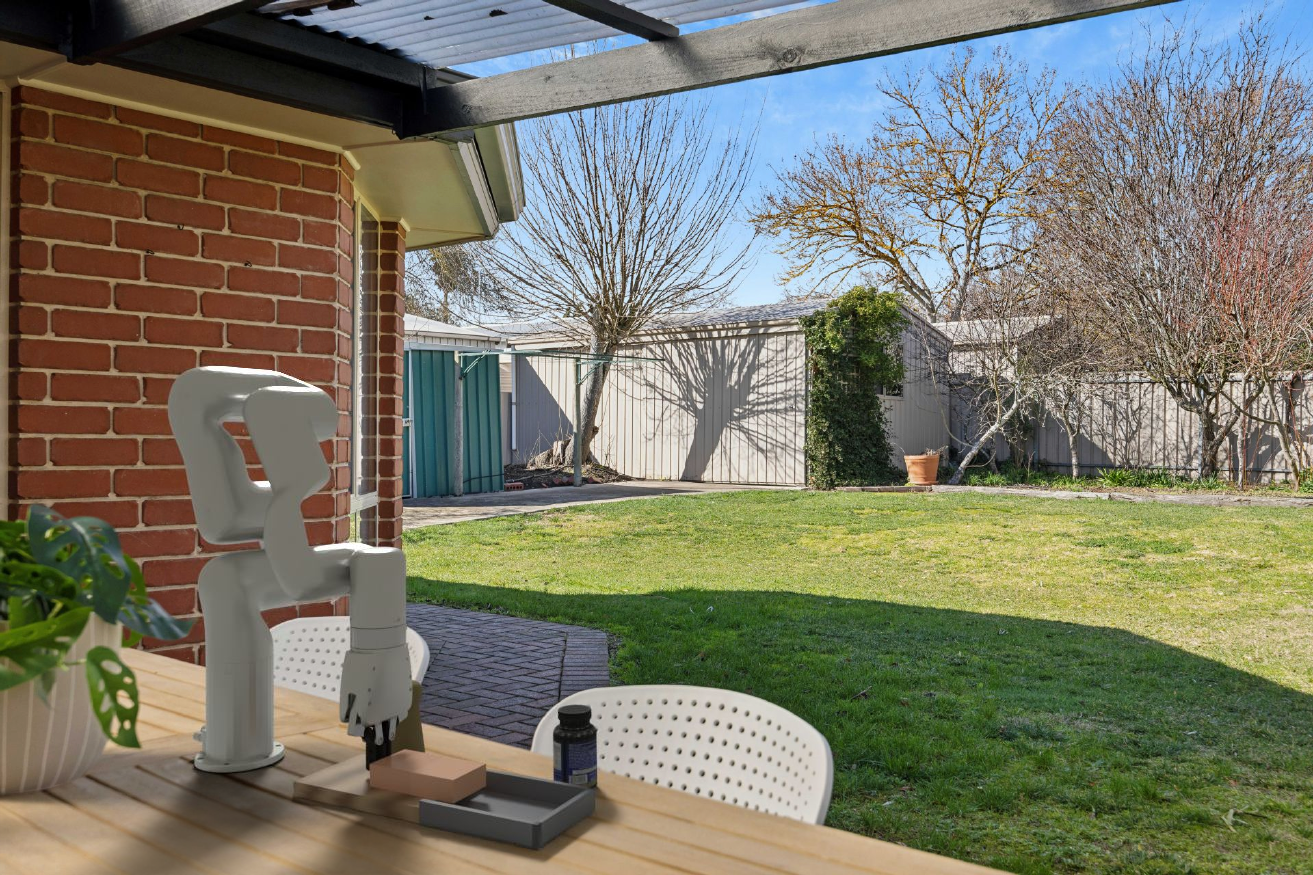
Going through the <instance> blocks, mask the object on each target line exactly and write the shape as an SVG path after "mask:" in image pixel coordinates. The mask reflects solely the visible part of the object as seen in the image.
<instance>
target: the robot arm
mask: <svg viewBox="0 0 1313 875" xmlns="http://www.w3.org/2000/svg"><path fill="white" fill-rule="evenodd" d="M167 400H168V401H167V415H168V416H167V417H168V421H169V426H170V428H171V432H172V435H173V438H174V439H175V440H174V441H175V442H176V444H177V446H178V449H179V452H180V454H181V457H182V459H183V464H184V468H185V473H186V480H187V484H188V488H189V489H188V490H189V493H190V498H191V504H192V508H193V512H194V517H195V518H194V519H195V523H196V525H197V529H198V532H199V533H200V534H199V535H200V536H201V538H202V539H203V540H205V541H206V542H207V543H209V544H212V545H225V546H226V545H235V544H246V543H255V542H256V543H257V542H258V543H259V547H260V548H254V549H245V550H237V551H230V552H227V553H223V554H220V555H217V556H215V557H213V558H211V559H210V560H208V561H207V562H206V563H205V564H204V566H203V567H202V569H200V570H201V571H200V572H199V575H198V580H197V591H198V598H199V601H200V606H201V610H202V616H203V623H204V636H205V637H204V638H205V642H204V643H205V644H204V645H205V724H204V725H202V727H201V728H200V731H196V732H194V733H193V735H192V739H193V741H195V742H201V745H202V746H201V751H199V752H198V753H196V755H195V756H194V766H195V767H196V768H197V769H199V770H201V771H204V772H208V773H209V772H210V773H235V772H236V773H237V772H238V773H239V772H244V771H250V770H255V769H259V768H263V767H266V766H269V765H272V764H275V763H277V762H278V761H280V760H281V759H282V758H283V757H284V756H285V753H286V752H285V745H284V744H283V743H281V742H279V741H275V739H274V738H275V733H274V732H275V731H274V730H275V724H274V722H275V721H274V720H275V715H274V714H275V711H274V710H275V709H274V708H275V704H274V703H275V702H274V701H275V695H274V693H275V692H274V691H275V690H274V689H275V688H274V686H275V684H274V682H275V681H274V680H275V674H274V672H275V670H274V668H275V666H274V665H275V664H274V662H275V661H274V660H275V659H274V658H275V657H274V656H275V654H274V650H275V649H274V646H275V645H274V639H273V634H272V632H271V630H270V628H269V626H268V625H267V623H266V622H265V620H264V619H263V616H262V614H261V612H264V611H268V610H272V609H278V608H284V607H287V606H293V605H295V604H299V603H304V604H305V603H313V602H318V601H319V602H320V601H325V600H330V599H335V598H342V597H347V596H349V650H346V651H345V656H344V659H343V665H342V671H341V675H340V676H341V677H340V678H341V679H340V686H339V688H340V689H339V690H340V691H339V706H338V707H339V712H338V714H339V720H340V722H341V723H343V724H347V731H346V734H347V736H349V737H355V738H357V737H358V738H359V737H360V738H361V741H362V743H365V754H366V769H367V770H368V771H370V764H371V763H373V762H376V761H378V760H380V759H383V758H385V757H388V756H390V755H391V741H390V740H393V739H394V737H395V730H396V727H397V726H398V724H399V723H400V722H401V721H402V720H404V719H405V718H406V717H407V716H408V710H409V709H410V707H411V704H412V680H413V676H412V675H413V674H412V665H411V664H412V663H411V656H410V650H409V644H408V642H407V630H408V625H407V559H406V558H407V557H406V555H405V553H404V551H403V550H402V549H400V548H397V547H394V546H393V547H391V546H371V545H369V544H365V543H361V542H353V541H352V542H341V543H333V544H332V543H331V544H325V545H324V544H323V545H315V546H314V545H313V546H310V545H309V540H308V536H307V532H306V531H307V530H306V526H305V521H304V517H303V513H302V510H301V505H302V502H303V501H304V500H306V499H308V498H309V497H311V496H313V495H315V494H316V493H317V492H319V491H321V489H323V488H325V486H326V485H327V484H328V483H329V482H330V479H331V475H332V473H331V469H330V466H329V464H328V462H327V460H326V458H325V455H324V453H323V450H322V447H321V445H320V443H321V442H325V441H327V440H330V439H331V438H332V437H334V435H335V433H336V432H337V431H338V427H339V422H340V414H339V410H338V407H337V404H336V403H335V401H334V399H333V398H332V396H330V395H329V394H328V393H327V391H324V390H323V389H321V388H319V387H317V386H314V385H313V384H309V383H307V382H304V381H302V380H299V379H297V378H295V377H293V376H289V375H287V374H284V373H283V372H282V373H281V372H278V371H273V370H269V369H256V368H255V369H254V368H243V367H233V366H221V365H220V366H217V365H216V366H215V365H210V366H199V367H194V368H191V369H188V370H186V371H184V372H182V373H181V374H180V375H178V377H177V378H176V379H175V381H174V382H173V383H172V386H171V388H170V391H169V395H168V398H167ZM226 422H227V423H229V422H230V423H232V422H233V423H244V424H245V427H246V429H247V432H248V434H249V437H250V439H251V442H252V444H253V447H254V449H255V452H256V455H257V456H258V459H259V462H260V464H261V467H262V469H263V471H264V475H265V477H266V479H267V480H263V481H262V480H261V481H259V480H258V481H253V480H251V478H250V476H249V473H248V468H247V465H246V464H247V463H246V458H245V456H244V453H243V450H242V448H241V447H240V445H239V443H238V442H237V440H236V439H235V438H234V437H233V435H231V433H230V432H229V431H228V430H226V428H224V426H223V423H226Z"/></svg>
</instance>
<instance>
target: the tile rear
mask: <svg viewBox="0 0 1313 875" xmlns="http://www.w3.org/2000/svg"><path fill="white" fill-rule="evenodd" d="M444 756H445V755H439V754H434V753H429V752H428V753H427V752H424V753H423V752H418V751H412V750H406V749H404V750H402V751H399V752H397V753H395V754H392V755H390V756H388V757H385V758H383V759H380V760H378V761H376V762H373V763H371V764H370V787H375V788H380V789H385V790H390V791H395V792H400V793H405V794H410V772H411V771H414V770H416V769H418V768H420V767H422V766H424V765H427V764H429V763H431V762H433V761H435V760H438V759H440V758H442V757H444Z"/></svg>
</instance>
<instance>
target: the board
mask: <svg viewBox="0 0 1313 875" xmlns="http://www.w3.org/2000/svg"><path fill="white" fill-rule="evenodd" d="M292 783H293V789H292V790H293V794H292V796H293V797H295V798H301V799H306V800H309V801H310V800H311V801H315V802H320V803H325V804H328V805H332V806H338V807H343V808H347V809H352V810H355V811H361V812H366V813H369V814H373V815H380V816H384V817H389V818H393V819H398V820H402V821H406V822H411V823H417V824H419V800H421V799H428V798H423V797H418V796H414V795H410V794H405V793H400V792H395V791H390V790H385V789H380V788H375V787H370V771H368V770H367V769H366V753H360V754H358V755H354V756H353V757H351V758H347V759H345V760H342V761H340V762H338V763H336V764H333V765H331V766H328V767H325V768H322V769H320V770H318V771H315V772H313V773H310V774H307V775H305V776H303V777H301V778H297V779H296V780H293V782H292ZM474 793H475V792H474ZM472 794H473V793H472ZM470 795H471V794H470ZM468 796H469V795H468ZM466 797H467V796H466ZM428 800H432V801H437V802H442V803H447V804H454V803H448V802H443V801H438V800H433V799H428ZM459 801H460V800H459ZM457 802H458V801H457ZM455 803H456V802H455Z"/></svg>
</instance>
